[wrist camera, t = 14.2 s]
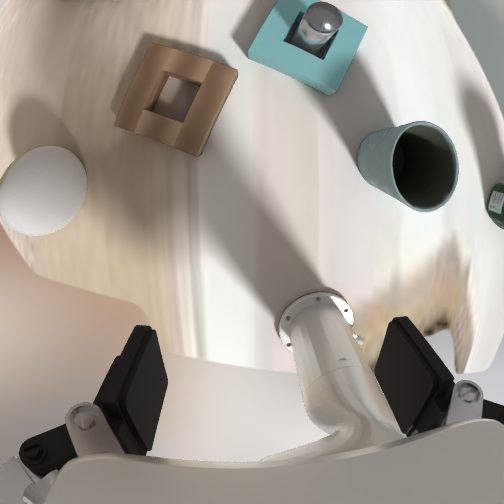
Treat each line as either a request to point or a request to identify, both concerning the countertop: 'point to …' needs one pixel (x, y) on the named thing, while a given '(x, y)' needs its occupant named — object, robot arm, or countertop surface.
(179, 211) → the countertop surface
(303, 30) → the pin
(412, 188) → the grey-blue cup
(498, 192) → the coffee jar
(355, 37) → the socket block
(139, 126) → the mount block
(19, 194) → the decorative egg
